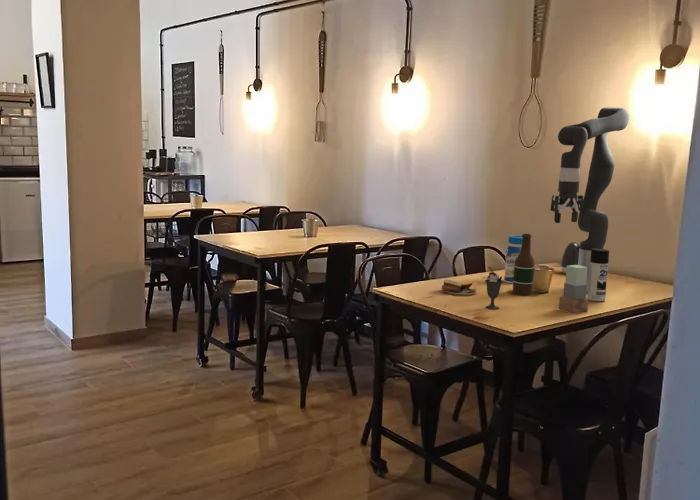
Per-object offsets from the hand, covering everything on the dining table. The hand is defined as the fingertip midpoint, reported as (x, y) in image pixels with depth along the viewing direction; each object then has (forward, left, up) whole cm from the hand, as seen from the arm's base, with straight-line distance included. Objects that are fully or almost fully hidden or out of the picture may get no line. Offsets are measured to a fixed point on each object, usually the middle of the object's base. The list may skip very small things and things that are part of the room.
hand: (565, 222), depth 259 cm
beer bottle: (+9, -12, -30) cm, 34 cm away
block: (+6, +17, -20) cm, 27 cm away
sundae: (+34, +8, -30) cm, 46 cm away
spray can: (-14, +4, -30) cm, 34 cm away
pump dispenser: (-37, -44, -30) cm, 65 cm away
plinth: (+6, +17, -30) cm, 35 cm away
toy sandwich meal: (+35, -17, -31) cm, 49 cm away
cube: (+6, +17, -25) cm, 31 cm away
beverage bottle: (+1, -32, -30) cm, 44 cm away
